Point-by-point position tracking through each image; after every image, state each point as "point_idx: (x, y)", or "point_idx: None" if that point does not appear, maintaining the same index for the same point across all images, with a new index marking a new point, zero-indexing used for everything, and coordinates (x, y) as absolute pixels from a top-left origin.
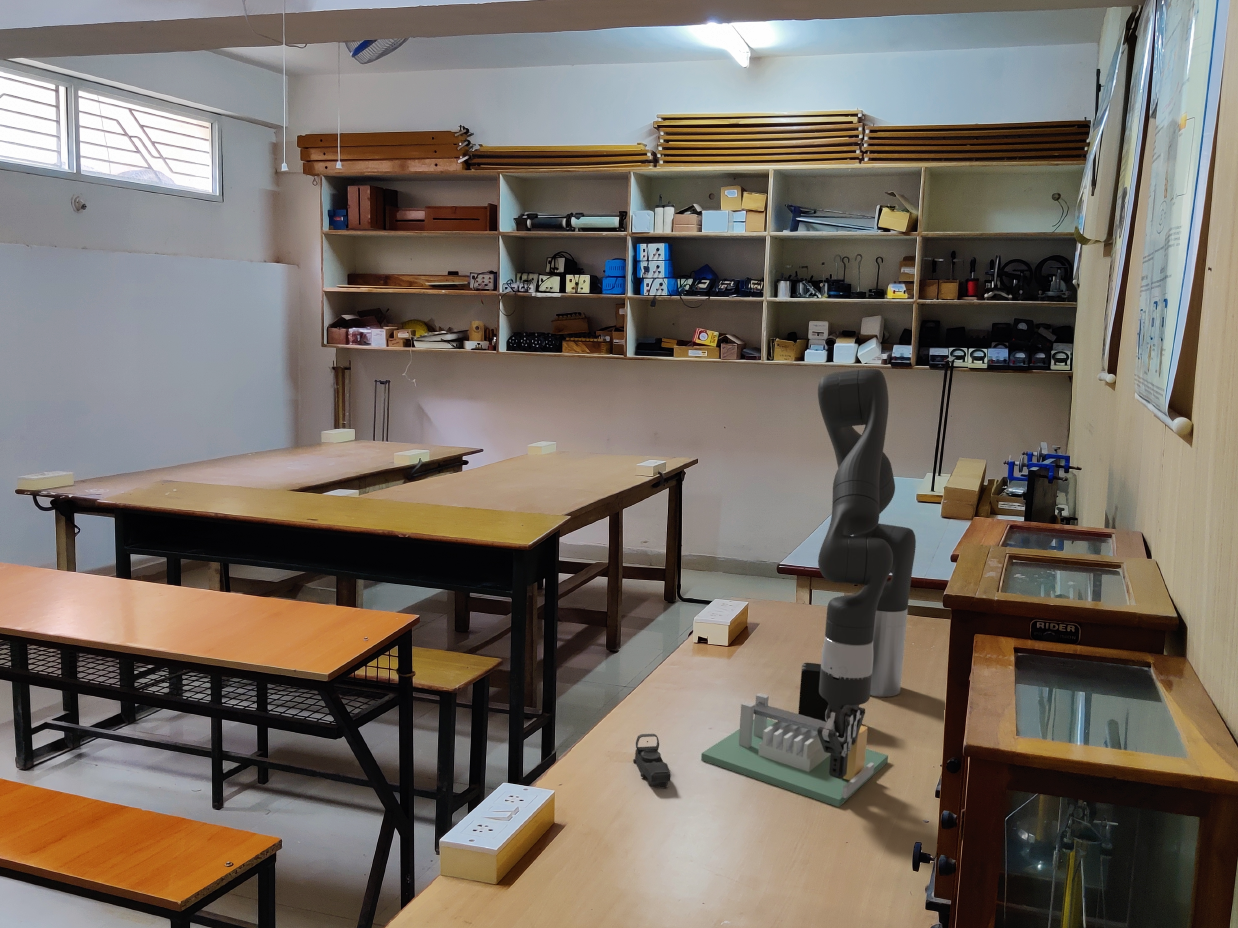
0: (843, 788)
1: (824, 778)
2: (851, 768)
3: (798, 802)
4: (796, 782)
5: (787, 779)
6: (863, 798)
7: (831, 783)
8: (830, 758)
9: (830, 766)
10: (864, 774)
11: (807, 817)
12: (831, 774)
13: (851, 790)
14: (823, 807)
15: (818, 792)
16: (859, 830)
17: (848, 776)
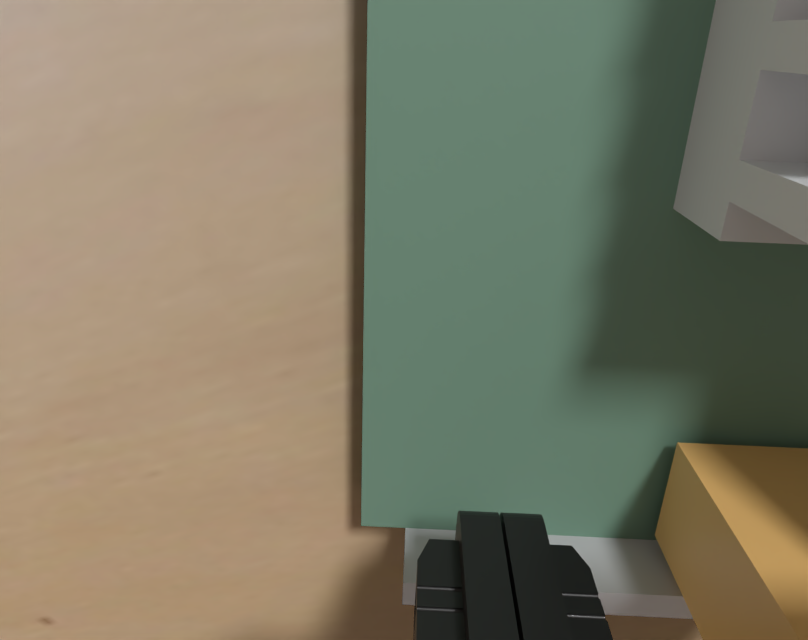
0: (405, 577)
1: (616, 350)
2: (694, 586)
3: (242, 279)
4: (408, 202)
5: (413, 113)
6: None
7: (561, 416)
8: (471, 625)
9: (416, 593)
10: None
11: (107, 396)
12: (457, 525)
13: None
14: (298, 425)
15: (364, 393)
16: (200, 632)
17: (670, 518)
